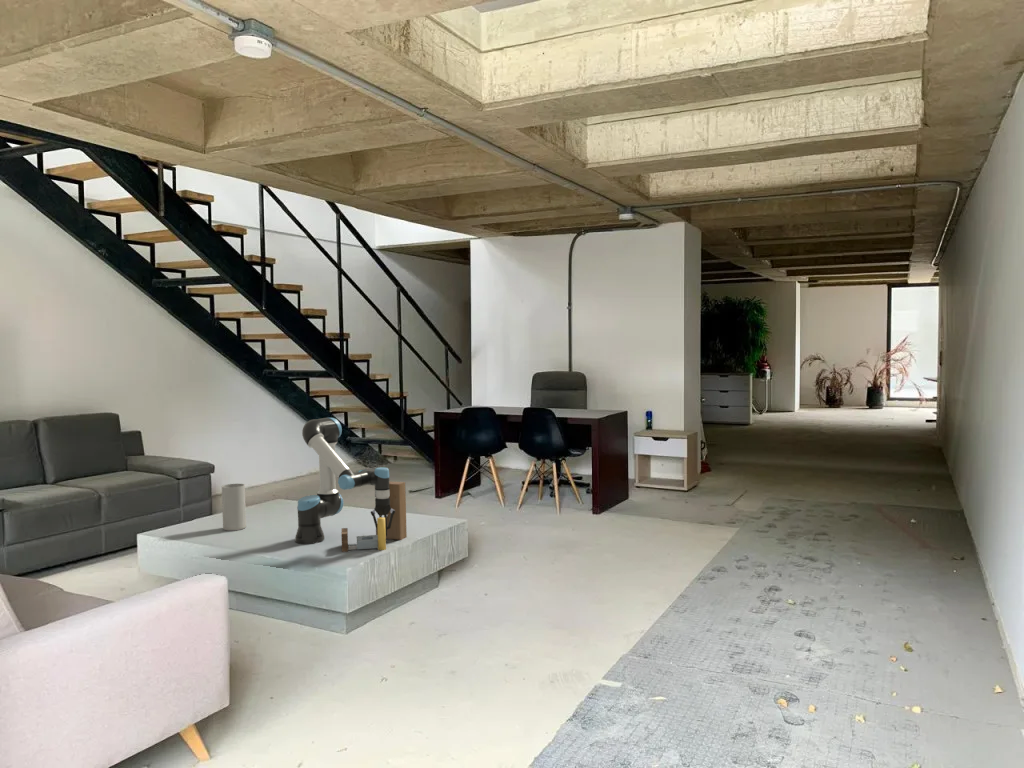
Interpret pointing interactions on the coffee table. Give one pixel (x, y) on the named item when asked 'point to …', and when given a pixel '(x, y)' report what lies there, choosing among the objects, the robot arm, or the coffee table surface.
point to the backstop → (344, 539)
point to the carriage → (367, 542)
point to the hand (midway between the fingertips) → (383, 542)
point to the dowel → (381, 533)
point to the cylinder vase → (233, 507)
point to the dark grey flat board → (352, 547)
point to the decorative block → (397, 511)
